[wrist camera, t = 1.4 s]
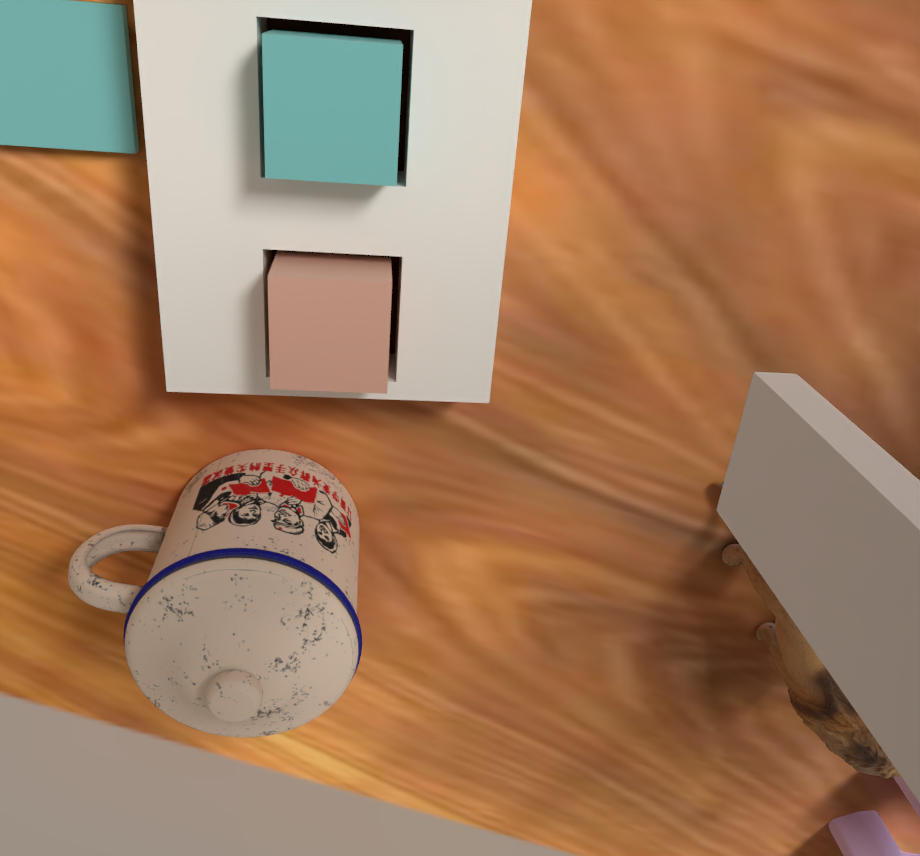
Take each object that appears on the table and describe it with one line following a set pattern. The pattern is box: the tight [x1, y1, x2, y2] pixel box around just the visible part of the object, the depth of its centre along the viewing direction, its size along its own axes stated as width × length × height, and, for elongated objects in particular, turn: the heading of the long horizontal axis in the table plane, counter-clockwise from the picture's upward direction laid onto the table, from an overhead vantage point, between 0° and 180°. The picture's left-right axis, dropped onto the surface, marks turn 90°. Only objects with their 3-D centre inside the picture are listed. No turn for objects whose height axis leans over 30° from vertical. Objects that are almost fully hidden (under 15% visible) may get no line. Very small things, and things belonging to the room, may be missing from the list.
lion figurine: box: [721, 482, 901, 779], centre depth 41 cm, size 15×5×9 cm, turn 33°
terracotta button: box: [268, 251, 392, 394], centre depth 32 cm, size 4×4×3 cm
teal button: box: [262, 29, 403, 186], centre depth 29 cm, size 4×4×3 cm
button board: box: [133, 0, 532, 403], centre depth 31 cm, size 13×22×3 cm, turn 175°
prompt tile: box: [0, 0, 139, 154], centre depth 31 cm, size 5×5×1 cm
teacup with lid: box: [68, 449, 362, 737], centre depth 35 cm, size 12×9×12 cm
